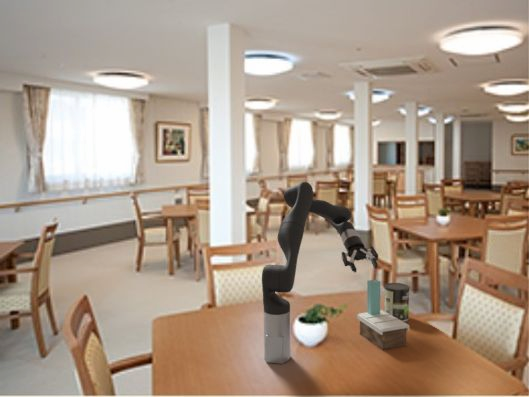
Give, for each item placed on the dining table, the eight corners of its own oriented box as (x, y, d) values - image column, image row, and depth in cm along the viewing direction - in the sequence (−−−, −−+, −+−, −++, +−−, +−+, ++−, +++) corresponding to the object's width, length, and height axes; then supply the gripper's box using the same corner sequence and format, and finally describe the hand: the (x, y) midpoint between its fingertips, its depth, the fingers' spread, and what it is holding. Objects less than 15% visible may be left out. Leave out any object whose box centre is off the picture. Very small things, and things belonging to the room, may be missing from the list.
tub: (406, 346, 170) (406, 328, 170) (382, 350, 167) (383, 332, 166) (381, 330, 185) (381, 313, 185) (359, 334, 182) (360, 317, 181)
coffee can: (412, 316, 200) (412, 285, 198) (403, 324, 192) (404, 291, 190) (389, 312, 206) (389, 281, 205) (380, 318, 198) (380, 287, 196)
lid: (409, 330, 170) (410, 290, 168) (381, 334, 166) (381, 293, 164) (383, 315, 185) (384, 278, 184) (357, 319, 181) (357, 281, 180)
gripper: (336, 238, 194) (349, 266, 182) (368, 232, 196) (383, 259, 183) (335, 251, 199) (348, 278, 186) (367, 245, 200) (381, 272, 188)
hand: (365, 269), depth 185 cm, fingers open, 8 cm apart
